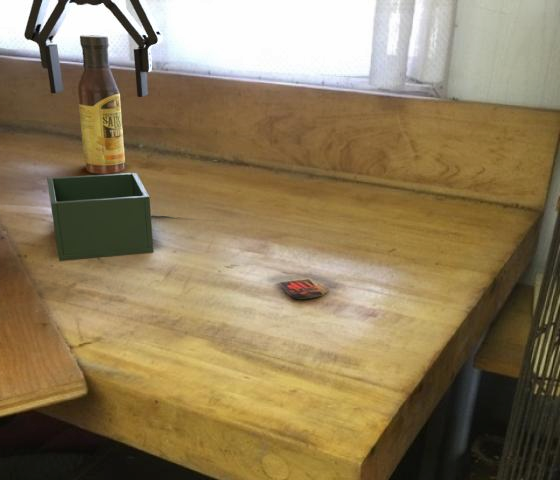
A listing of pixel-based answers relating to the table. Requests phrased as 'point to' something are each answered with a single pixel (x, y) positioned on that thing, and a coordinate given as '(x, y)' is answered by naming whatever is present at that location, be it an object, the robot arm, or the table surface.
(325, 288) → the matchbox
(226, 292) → the table surface
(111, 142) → the sauce bottle
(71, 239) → the bin
